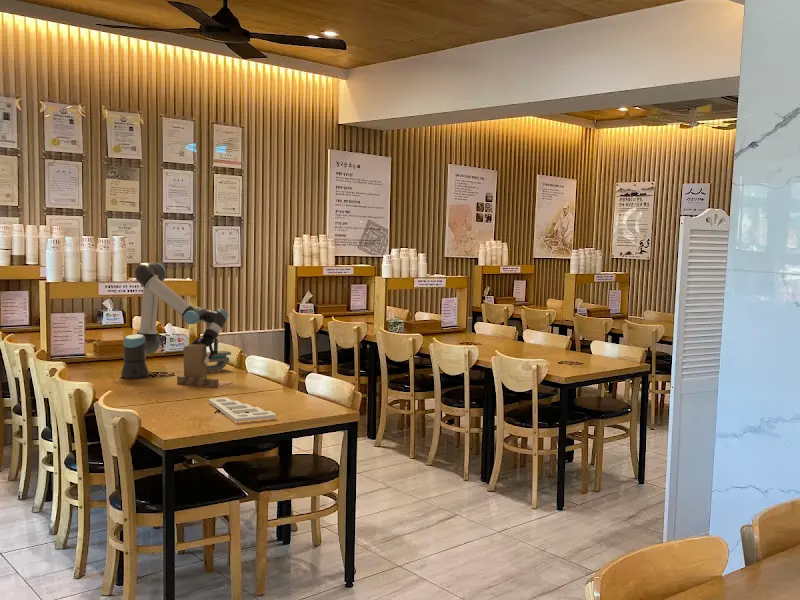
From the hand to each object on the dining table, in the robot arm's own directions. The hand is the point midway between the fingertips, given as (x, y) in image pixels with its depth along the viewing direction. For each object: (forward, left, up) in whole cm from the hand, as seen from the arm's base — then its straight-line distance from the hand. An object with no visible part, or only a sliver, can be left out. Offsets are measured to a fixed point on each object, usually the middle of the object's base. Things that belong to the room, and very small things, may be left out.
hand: (195, 362), depth 405 cm
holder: (+64, -48, -11) cm, 81 cm away
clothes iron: (-16, +32, -11) cm, 37 cm away
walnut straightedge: (+7, -7, -11) cm, 15 cm away
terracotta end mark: (+13, +1, -11) cm, 17 cm away
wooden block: (-1, +1, -11) cm, 11 cm away
